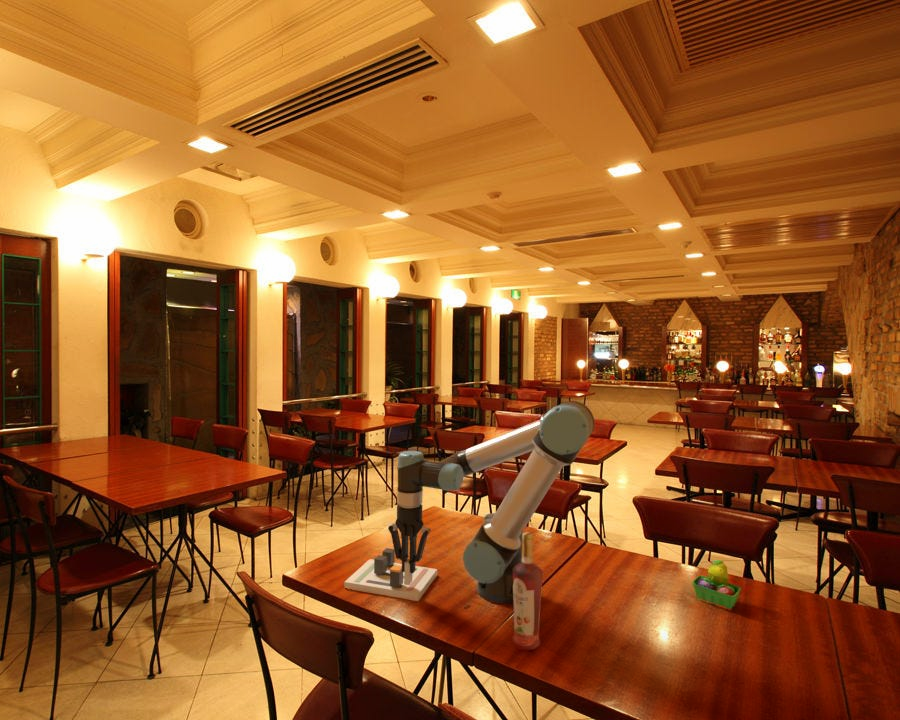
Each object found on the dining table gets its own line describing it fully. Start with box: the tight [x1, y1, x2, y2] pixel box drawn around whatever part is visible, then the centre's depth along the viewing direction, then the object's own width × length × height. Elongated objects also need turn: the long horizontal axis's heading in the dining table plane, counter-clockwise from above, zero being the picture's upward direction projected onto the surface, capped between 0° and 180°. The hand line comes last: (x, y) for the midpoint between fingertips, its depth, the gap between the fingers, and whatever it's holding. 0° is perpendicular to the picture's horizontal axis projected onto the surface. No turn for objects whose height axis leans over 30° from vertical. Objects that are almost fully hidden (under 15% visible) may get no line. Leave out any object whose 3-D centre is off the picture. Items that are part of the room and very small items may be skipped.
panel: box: [344, 558, 438, 602], centre depth 154 cm, size 24×17×2 cm
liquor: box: [511, 531, 543, 652], centre depth 121 cm, size 7×7×28 cm
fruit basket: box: [691, 559, 742, 610], centre depth 144 cm, size 11×9×11 cm
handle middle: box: [373, 554, 387, 575], centre depth 155 cm, size 3×3×4 cm
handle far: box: [381, 547, 396, 567], centre depth 161 cm, size 3×3×4 cm
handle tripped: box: [390, 565, 403, 588], centre depth 147 cm, size 3×3×5 cm
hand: (408, 582), depth 146 cm, fingers closed
